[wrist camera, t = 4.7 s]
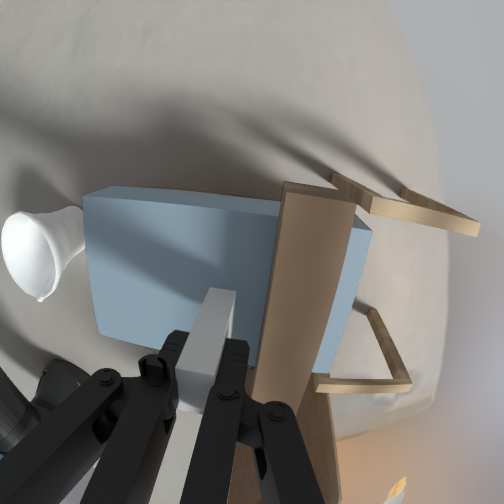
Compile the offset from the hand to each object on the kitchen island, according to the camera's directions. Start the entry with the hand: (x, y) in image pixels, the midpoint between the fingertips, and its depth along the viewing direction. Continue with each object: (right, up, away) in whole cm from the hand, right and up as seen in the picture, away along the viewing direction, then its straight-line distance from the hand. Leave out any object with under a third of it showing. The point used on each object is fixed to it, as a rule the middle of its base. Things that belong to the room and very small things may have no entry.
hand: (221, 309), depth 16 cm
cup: (-19, +6, +14) cm, 24 cm away
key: (+4, 0, +1) cm, 4 cm away
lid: (-1, +2, +5) cm, 6 cm away
